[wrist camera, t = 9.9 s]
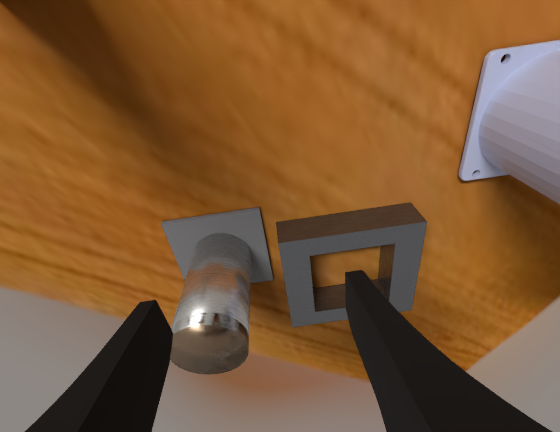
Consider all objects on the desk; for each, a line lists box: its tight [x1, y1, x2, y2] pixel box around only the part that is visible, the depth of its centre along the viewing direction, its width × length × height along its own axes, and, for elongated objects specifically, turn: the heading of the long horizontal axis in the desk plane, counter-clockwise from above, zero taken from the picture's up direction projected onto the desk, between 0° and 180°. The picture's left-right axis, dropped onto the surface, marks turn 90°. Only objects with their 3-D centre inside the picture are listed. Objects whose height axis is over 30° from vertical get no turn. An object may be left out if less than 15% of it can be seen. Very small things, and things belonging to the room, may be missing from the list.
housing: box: [276, 203, 427, 327], centre depth 24 cm, size 10×9×2 cm
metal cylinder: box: [170, 233, 251, 374], centre depth 20 cm, size 4×4×8 cm
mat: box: [161, 207, 273, 283], centre depth 23 cm, size 7×7×1 cm
